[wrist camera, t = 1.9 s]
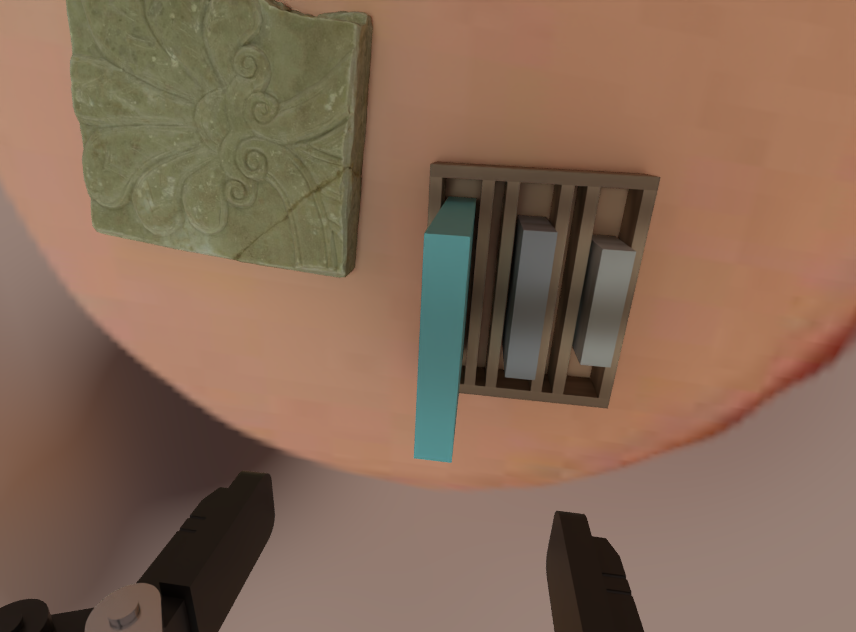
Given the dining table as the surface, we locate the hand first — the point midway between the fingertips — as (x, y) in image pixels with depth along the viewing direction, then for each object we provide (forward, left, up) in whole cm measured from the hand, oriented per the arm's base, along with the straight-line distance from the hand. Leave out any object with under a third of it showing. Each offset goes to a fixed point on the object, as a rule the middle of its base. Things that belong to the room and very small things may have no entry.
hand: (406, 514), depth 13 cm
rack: (0, +5, -24) cm, 24 cm away
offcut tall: (0, +5, -24) cm, 24 cm away
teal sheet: (0, 0, -24) cm, 24 cm away
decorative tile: (-10, -17, -25) cm, 31 cm away
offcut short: (0, +10, -24) cm, 26 cm away
